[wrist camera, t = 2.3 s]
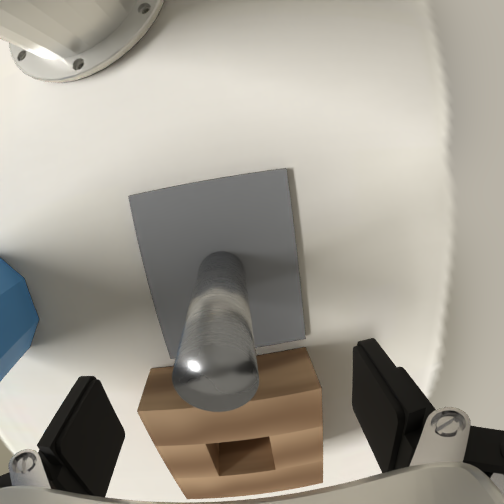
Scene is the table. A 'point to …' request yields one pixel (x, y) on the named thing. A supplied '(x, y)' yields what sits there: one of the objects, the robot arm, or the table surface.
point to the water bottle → (14, 318)
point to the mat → (223, 249)
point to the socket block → (241, 432)
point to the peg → (217, 339)
